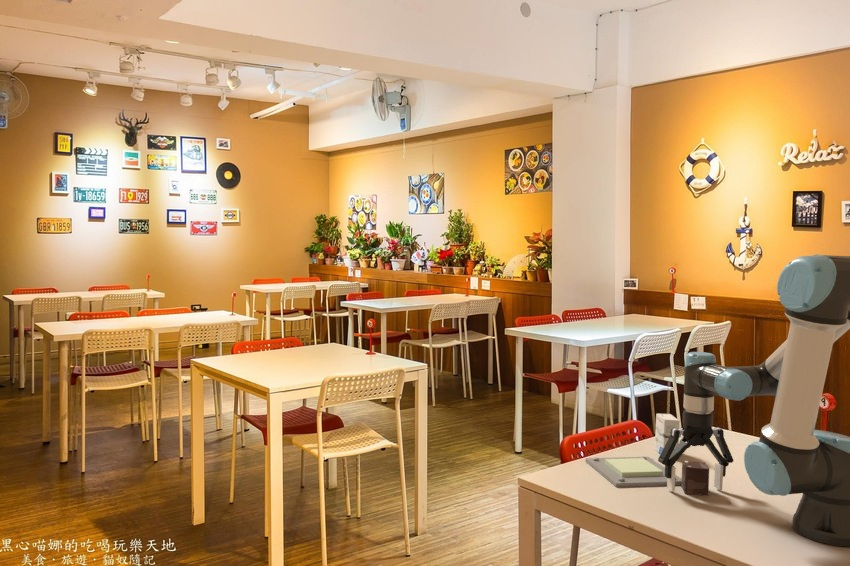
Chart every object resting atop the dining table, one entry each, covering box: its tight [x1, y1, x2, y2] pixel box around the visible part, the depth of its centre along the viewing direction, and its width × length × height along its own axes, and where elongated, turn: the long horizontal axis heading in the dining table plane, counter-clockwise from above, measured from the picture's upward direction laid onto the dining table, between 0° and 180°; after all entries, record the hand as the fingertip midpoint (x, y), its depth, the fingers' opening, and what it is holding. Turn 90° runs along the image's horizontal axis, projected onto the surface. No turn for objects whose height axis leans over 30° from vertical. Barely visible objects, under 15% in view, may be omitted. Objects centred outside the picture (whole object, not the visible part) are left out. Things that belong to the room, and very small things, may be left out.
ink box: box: [654, 413, 680, 455], centre depth 222 cm, size 8×5×12 cm, turn 179°
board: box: [584, 456, 682, 488], centre depth 203 cm, size 22×20×2 cm
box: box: [680, 460, 710, 496], centre depth 189 cm, size 6×6×7 cm
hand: (694, 489), depth 189 cm, fingers open, 13 cm apart
